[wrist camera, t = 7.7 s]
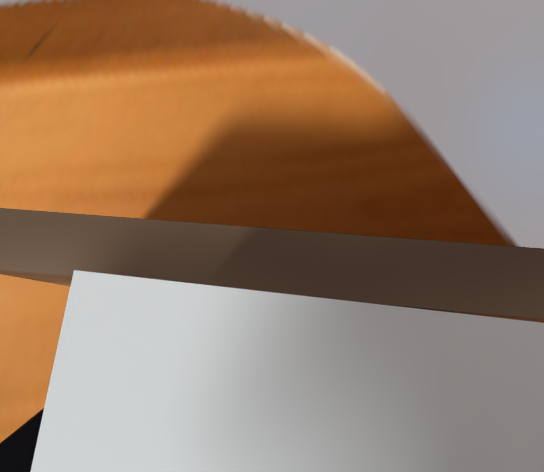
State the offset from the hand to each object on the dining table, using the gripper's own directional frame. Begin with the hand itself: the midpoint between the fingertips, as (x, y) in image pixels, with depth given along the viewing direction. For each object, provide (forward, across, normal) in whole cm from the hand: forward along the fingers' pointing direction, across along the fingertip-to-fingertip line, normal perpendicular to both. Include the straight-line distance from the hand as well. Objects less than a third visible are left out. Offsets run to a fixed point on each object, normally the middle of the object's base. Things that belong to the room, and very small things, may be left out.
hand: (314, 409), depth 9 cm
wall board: (+8, 0, +4) cm, 9 cm away
